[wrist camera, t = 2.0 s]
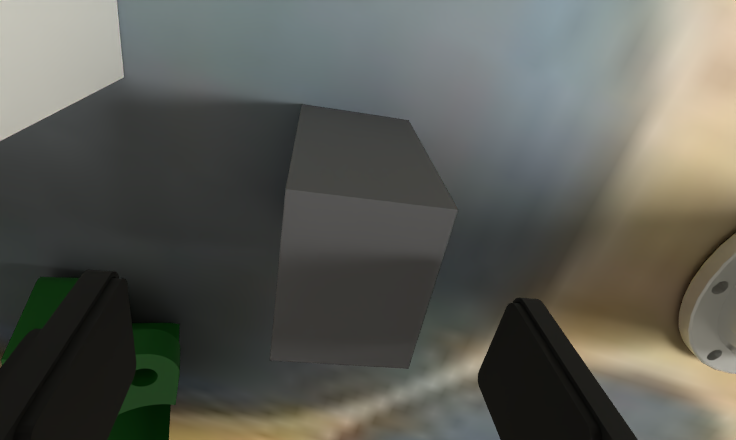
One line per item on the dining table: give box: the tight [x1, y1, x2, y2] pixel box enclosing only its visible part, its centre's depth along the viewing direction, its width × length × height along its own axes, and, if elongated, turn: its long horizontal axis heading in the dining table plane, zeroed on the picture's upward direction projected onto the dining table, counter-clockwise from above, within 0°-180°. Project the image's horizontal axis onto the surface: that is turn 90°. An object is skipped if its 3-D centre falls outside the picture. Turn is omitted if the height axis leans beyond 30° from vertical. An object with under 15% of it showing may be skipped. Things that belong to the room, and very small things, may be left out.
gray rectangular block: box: [270, 104, 458, 369], centre depth 16 cm, size 4×6×8 cm
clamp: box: [1, 277, 180, 440], centre depth 21 cm, size 12×6×9 cm, turn 158°
